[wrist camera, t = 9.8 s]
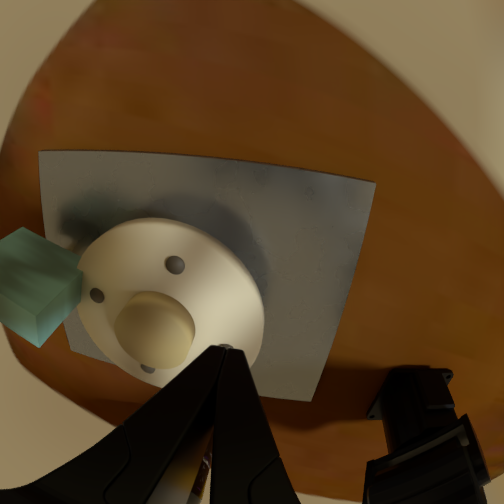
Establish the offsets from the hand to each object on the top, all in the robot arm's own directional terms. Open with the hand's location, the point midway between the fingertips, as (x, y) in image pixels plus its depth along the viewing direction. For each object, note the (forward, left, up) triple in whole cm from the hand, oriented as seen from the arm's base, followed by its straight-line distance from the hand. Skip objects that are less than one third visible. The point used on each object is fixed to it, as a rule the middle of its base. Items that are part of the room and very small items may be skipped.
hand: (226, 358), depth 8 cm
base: (-6, +5, -12) cm, 14 cm away
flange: (-5, +8, -9) cm, 13 cm away
